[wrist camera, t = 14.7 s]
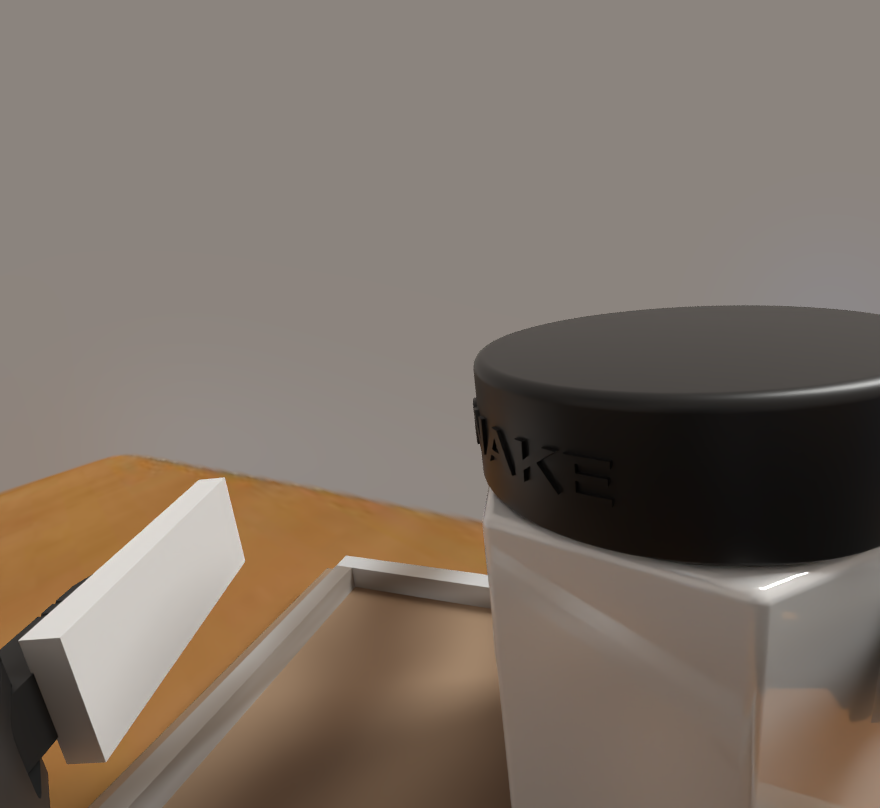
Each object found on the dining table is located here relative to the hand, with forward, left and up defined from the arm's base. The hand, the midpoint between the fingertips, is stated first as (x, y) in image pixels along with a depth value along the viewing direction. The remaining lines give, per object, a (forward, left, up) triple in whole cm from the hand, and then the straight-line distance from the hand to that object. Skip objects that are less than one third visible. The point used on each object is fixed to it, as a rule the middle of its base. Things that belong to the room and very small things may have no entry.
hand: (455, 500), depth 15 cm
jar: (+6, -1, -8) cm, 9 cm away
